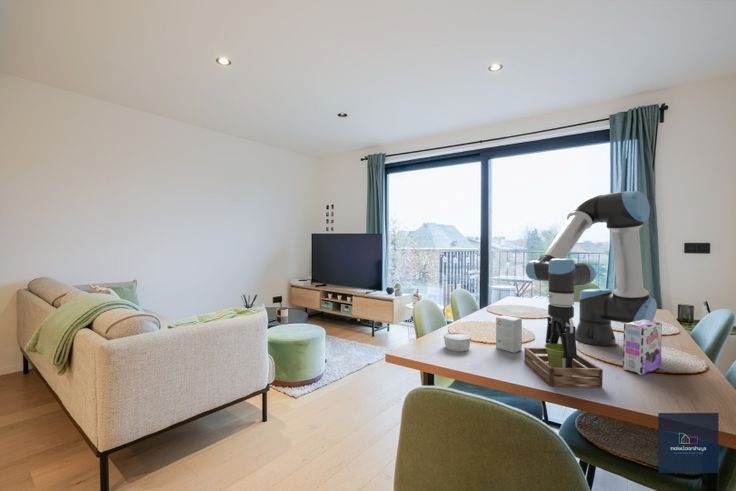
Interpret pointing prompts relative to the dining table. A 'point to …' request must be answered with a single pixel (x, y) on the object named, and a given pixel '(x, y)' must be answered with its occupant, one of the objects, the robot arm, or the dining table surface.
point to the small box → (509, 333)
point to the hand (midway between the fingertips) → (559, 371)
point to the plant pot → (555, 354)
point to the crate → (563, 370)
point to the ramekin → (457, 341)
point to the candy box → (642, 346)
